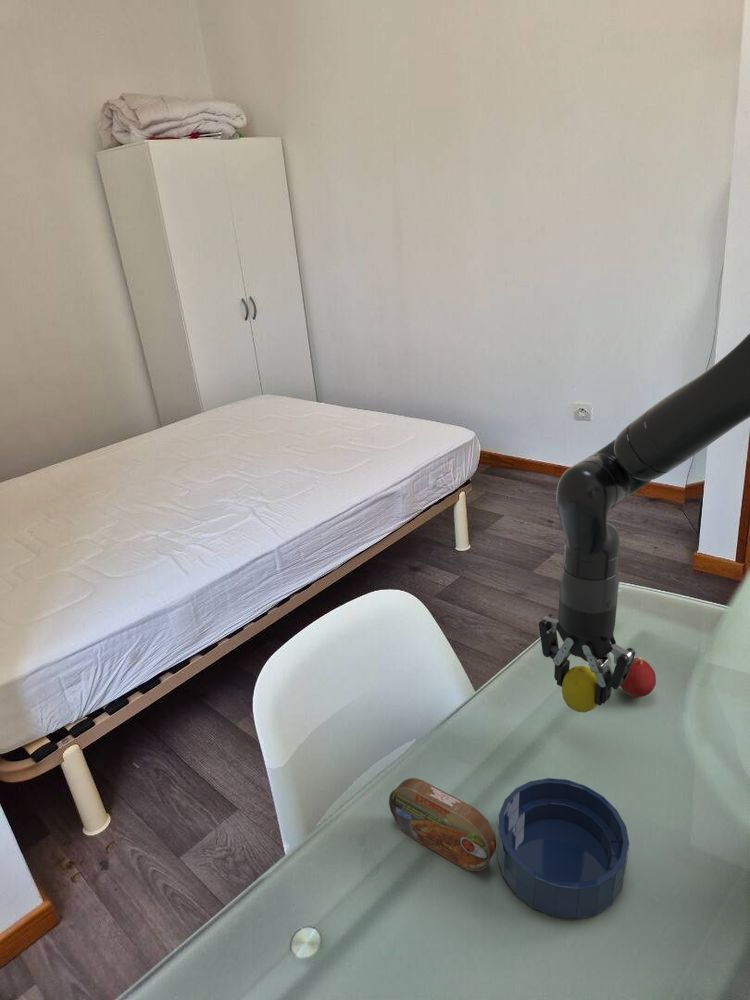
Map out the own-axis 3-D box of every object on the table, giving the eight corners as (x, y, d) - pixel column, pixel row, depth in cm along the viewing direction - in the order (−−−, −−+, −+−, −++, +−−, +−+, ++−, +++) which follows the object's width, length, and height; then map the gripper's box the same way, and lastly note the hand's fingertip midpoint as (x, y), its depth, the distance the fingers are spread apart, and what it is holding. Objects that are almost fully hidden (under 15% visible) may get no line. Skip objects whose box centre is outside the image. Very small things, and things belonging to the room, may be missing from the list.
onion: (609, 686, 115) (613, 647, 111) (642, 681, 115) (648, 643, 112) (624, 710, 110) (629, 671, 106) (659, 706, 110) (665, 666, 107)
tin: (389, 824, 93) (385, 780, 90) (402, 808, 96) (399, 764, 92) (487, 884, 85) (488, 837, 81) (499, 864, 87) (500, 818, 83)
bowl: (646, 857, 87) (651, 825, 84) (582, 949, 77) (586, 915, 75) (540, 791, 97) (542, 759, 94) (473, 864, 87) (473, 832, 85)
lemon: (607, 712, 101) (611, 669, 98) (581, 729, 98) (585, 685, 95) (577, 692, 105) (580, 650, 102) (552, 708, 103) (554, 665, 99)
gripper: (652, 601, 91) (640, 701, 98) (556, 566, 100) (552, 659, 107) (624, 628, 86) (614, 730, 93) (527, 588, 96) (524, 684, 103)
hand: (581, 691), depth 100 cm, fingers closed on lemon, 5 cm apart
